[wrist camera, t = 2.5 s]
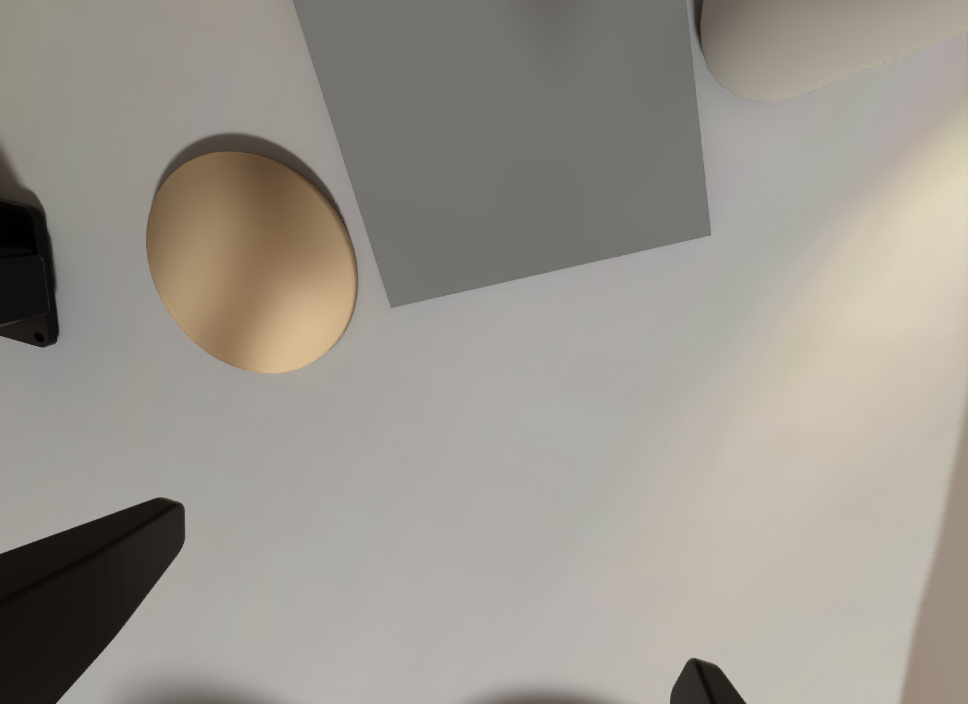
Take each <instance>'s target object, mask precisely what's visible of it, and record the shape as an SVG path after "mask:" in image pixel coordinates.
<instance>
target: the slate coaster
mask: <svg viewBox="0 0 968 704" xmlns="http://www.w3.org/2000/svg"><path fill="white" fill-rule="evenodd" d="M293 2H294V5H295V8H296V11H297V15H298V18H299V21H300V24H301V27H302V30H303V33H304V37H305V40H306V43H307V46H308V49H309V52H310V55H311V58H312V62H313V65H314V68H315V71H316V74H317V77H318V80H319V84H320V87H321V90H322V93H323V96H324V99H325V102H326V105H327V109H328V112H329V115H330V118H331V121H332V124H333V127H334V131H335V134H336V137H337V140H338V143H339V146H340V149H341V152H342V156H343V159H344V162H345V165H346V168H347V171H348V174H349V178H350V181H351V184H352V187H353V190H354V193H355V196H356V199H357V203H358V206H359V209H360V212H361V215H362V218H363V221H364V225H365V228H366V231H367V234H368V237H369V240H370V243H371V246H372V250H373V253H374V256H375V259H376V262H377V265H378V268H379V272H380V275H381V278H382V281H383V284H384V287H385V290H386V293H387V297H388V300H389V303H390V306H391V308H393V307H397V306H401V305H406V304H410V303H415V302H419V301H423V300H428V299H432V298H437V297H441V296H445V295H450V294H454V293H459V292H463V291H467V290H472V289H476V288H481V287H485V286H489V285H494V284H498V283H503V282H507V281H511V280H516V279H520V278H525V277H529V276H533V275H538V274H542V273H547V272H551V271H555V270H560V269H564V268H569V267H573V266H577V265H582V264H586V263H591V262H595V261H599V260H604V259H608V258H613V257H617V256H621V255H626V254H630V253H635V252H639V251H643V250H648V249H652V248H657V247H661V246H665V245H670V244H674V243H679V242H683V241H688V240H692V239H696V238H701V237H705V236H710V235H711V230H710V220H709V211H708V202H707V192H706V183H705V174H704V164H703V155H702V146H701V136H700V127H699V118H698V108H697V99H696V89H695V80H694V71H693V61H692V52H691V43H690V33H689V24H688V15H687V5H686V0H293Z"/></svg>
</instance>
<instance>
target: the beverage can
mask: <svg viewBox="0 0 968 704" xmlns="http://www.w3.org/2000/svg"><path fill="white" fill-rule="evenodd" d="M700 29H701V46H702V51H703V54H704V58H705V61H706V64H707V67H708V70H709V71H710V72H711V74H712V75H713V76H714V77H715V79H716V80H717V81H718V83H719V84H720V85H721V86H722V87H724V88H726V89H727V90H729V91H730V92H732V93H733V94H735V95H736V96H738V97H742V98H746V99H750V100H753V101H757V102H761V101H781V100H785V99H788V98H792V97H795V96H799V95H802V94H805V93H807V92H810V91H812V90H815V89H818V88H820V87H823V86H825V85H828V84H831V83H833V82H836V81H839V80H841V79H844V78H846V77H849V76H852V75H854V74H857V73H859V72H862V71H865V70H867V69H870V68H872V67H875V66H878V65H880V64H883V63H886V62H888V61H891V60H893V59H896V58H899V57H901V56H904V55H906V54H909V53H912V52H914V51H917V50H919V49H922V48H925V47H927V46H930V45H933V44H935V43H938V42H940V41H943V40H946V39H948V38H951V37H953V36H956V35H959V34H961V33H964V32H966V31H968V0H703V6H702V14H701V22H700Z"/></svg>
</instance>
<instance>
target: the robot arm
mask: <svg viewBox="0 0 968 704" xmlns="http://www.w3.org/2000/svg"><path fill="white" fill-rule="evenodd" d="M0 336H3V337H6V338H10V339H13V340H17V341H20V342H24V343H28V344H31V345H35V346H38V347H47V346H50V345H53V344H55V343H56V342H57V331H56V323H55V315H54V306H53V298H52V290H51V282H50V274H49V265H48V257H47V249H46V241H45V233H44V224H43V219H42V215H41V214H40V212H39V211H38V210H37V209H36V208H34V207H32V206H29V205H25V204H22V203H18V202H14V201H10V200H6V199H2V198H0ZM184 541H185V509H184V506H183V504H182V503H180V502H177V501H174V500H170V499H167V498H163V497H159V498H155V499H152V500H149V501H146V502H143V503H141V504H138V505H135V506H132V507H129V508H127V509H124V510H121V511H118V512H116V513H113V514H110V515H107V516H104V517H102V518H99V519H96V520H93V521H91V522H88V523H85V524H82V525H79V526H77V527H74V528H71V529H68V530H66V531H63V532H60V533H57V534H54V535H52V536H49V537H46V538H43V539H40V540H38V541H35V542H32V543H29V544H27V545H24V546H21V547H18V548H15V549H13V550H10V551H7V552H4V553H2V554H0V704H56V703H57V702H58V701H59V700H60V698H61V697H62V696H63V695H64V694H65V693H66V692H67V691H68V689H69V688H70V687H71V686H72V685H73V684H74V683H75V682H76V680H77V679H78V678H79V677H80V676H81V675H82V674H83V673H84V672H85V670H86V669H87V668H88V667H89V666H90V665H91V664H92V663H93V661H94V660H95V659H96V658H97V657H98V656H99V655H100V654H101V653H102V651H103V650H104V649H105V648H106V647H107V646H108V644H109V643H110V642H111V641H112V640H113V639H114V637H115V636H116V635H117V634H118V633H119V631H120V630H121V629H122V628H123V626H124V625H125V624H126V622H127V621H128V620H129V619H130V617H131V616H132V615H133V613H134V612H135V611H136V609H137V608H138V607H139V605H140V604H141V603H142V601H143V600H144V599H145V597H146V596H147V595H148V593H149V592H150V591H151V589H152V588H153V587H154V585H155V584H156V583H157V581H158V580H159V579H160V577H161V576H162V575H163V573H164V572H165V571H166V569H167V568H168V567H169V565H170V564H171V563H172V561H173V560H174V559H175V558H176V556H177V555H178V553H179V552H180V550H181V549H182V547H183V544H184ZM670 704H746V702H745V701H744V700H743V698H742V697H741V696H740V694H739V693H738V692H737V690H736V689H735V688H734V686H733V685H732V684H731V682H730V681H729V679H728V678H727V677H726V675H725V674H724V673H723V671H722V670H721V669H720V668H719V667H718V666H717V665H715V664H713V663H710V662H706V661H703V660H700V659H697V658H691V659H690V660H688V662H687V663H686V665H685V666H684V668H683V670H682V672H681V674H680V676H679V677H678V679H677V681H676V683H675V685H674V686H673V689H672V692H671V697H670Z"/></svg>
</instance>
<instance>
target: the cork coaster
mask: <svg viewBox="0 0 968 704" xmlns="http://www.w3.org/2000/svg"><path fill="white" fill-rule="evenodd" d="M146 247H147V257H148V262H149V267H150V271H151V275H152V278H153V281H154V284H155V287H156V289H157V291H158V293H159V296H160V298H161V300H162V302H163V303H164V305H165V307H166V309H167V310H168V312H169V314H170V315H171V316H172V318H173V319H174V320H175V322H176V323H177V325H178V326H179V327H180V328H181V329H182V330H183V331H184V332H185V334H186V335H187V336H188V337H189V338H191V339H192V340H193V341H194V342H195V343H196V344H197V345H198V346H200V347H201V348H202V349H204V350H205V351H206V352H207V353H209V354H211V355H212V356H214V357H216V358H217V359H219V360H221V361H223V362H225V363H227V364H229V365H231V366H234V367H237V368H240V369H243V370H248V371H252V372H258V373H282V372H287V371H292V370H295V369H298V368H301V367H304V366H306V365H308V364H309V363H311V362H313V361H315V360H316V359H318V358H319V357H320V356H322V355H323V354H324V353H326V352H327V351H328V350H330V349H331V348H332V347H333V346H334V345H335V344H336V343H337V342H338V340H339V339H340V338H341V336H342V335H343V333H344V332H345V330H346V328H347V327H348V325H349V323H350V321H351V318H352V315H353V312H354V309H355V305H356V299H357V292H358V272H357V263H356V258H355V253H354V249H353V246H352V243H351V240H350V237H349V235H348V233H347V230H346V228H345V226H344V224H343V222H342V220H341V218H340V217H339V215H338V213H337V212H336V210H335V209H334V207H333V206H332V205H331V203H330V202H329V201H328V199H327V198H326V197H325V196H324V195H323V194H322V192H321V191H320V190H319V189H318V188H317V187H316V186H315V185H314V184H313V183H311V182H310V181H309V180H308V179H306V178H305V177H304V176H303V175H302V174H300V173H298V172H297V171H295V170H294V169H292V168H291V167H289V166H287V165H285V164H283V163H281V162H279V161H276V160H274V159H271V158H268V157H265V156H261V155H256V154H250V153H243V152H216V153H209V154H206V155H203V156H200V157H196V158H194V159H192V160H190V161H188V162H187V163H185V164H183V165H182V166H181V167H179V168H178V169H177V170H175V171H174V172H173V173H172V174H171V175H170V176H169V177H168V178H167V180H166V181H165V182H164V183H163V185H162V186H161V188H160V189H159V191H158V193H157V195H156V197H155V199H154V201H153V204H152V207H151V210H150V214H149V217H148V224H147V231H146Z"/></svg>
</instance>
